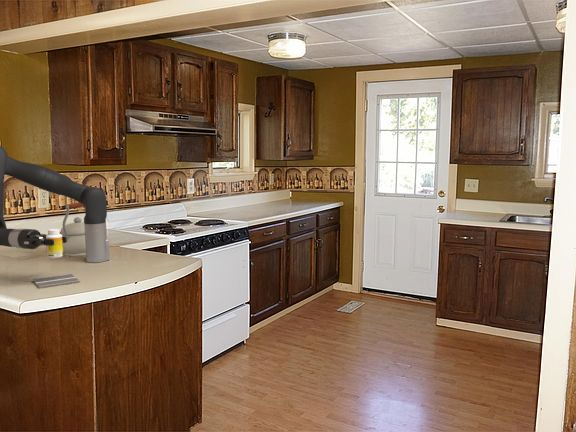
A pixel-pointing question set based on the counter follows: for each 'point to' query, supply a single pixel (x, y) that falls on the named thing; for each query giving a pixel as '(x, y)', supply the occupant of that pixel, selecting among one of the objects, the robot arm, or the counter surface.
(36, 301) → the counter surface
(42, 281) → the lane mat
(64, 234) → the kettle
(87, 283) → the counter surface
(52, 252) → the supplement bottle
